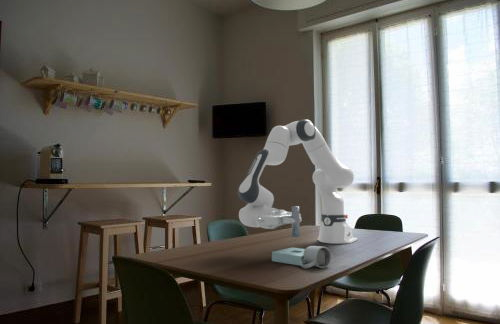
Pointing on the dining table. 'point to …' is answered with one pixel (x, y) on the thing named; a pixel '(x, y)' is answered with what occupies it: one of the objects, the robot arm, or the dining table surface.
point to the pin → (295, 225)
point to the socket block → (289, 256)
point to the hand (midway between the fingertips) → (297, 220)
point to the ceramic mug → (316, 257)
